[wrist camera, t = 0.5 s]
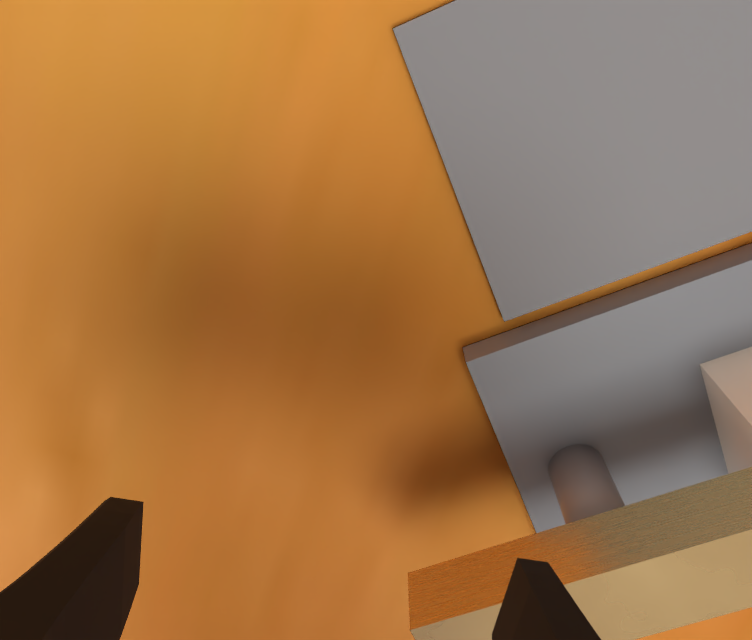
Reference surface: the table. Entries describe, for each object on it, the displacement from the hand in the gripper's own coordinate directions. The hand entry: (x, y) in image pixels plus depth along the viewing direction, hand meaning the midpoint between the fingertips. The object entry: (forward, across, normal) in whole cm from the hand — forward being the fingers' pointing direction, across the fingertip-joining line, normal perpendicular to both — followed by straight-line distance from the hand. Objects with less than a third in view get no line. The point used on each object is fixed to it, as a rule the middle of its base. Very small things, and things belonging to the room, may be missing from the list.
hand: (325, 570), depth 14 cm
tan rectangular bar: (+5, -8, +3) cm, 10 cm away
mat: (+10, -6, -8) cm, 14 cm away
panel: (+10, -12, 0) cm, 16 cm away
